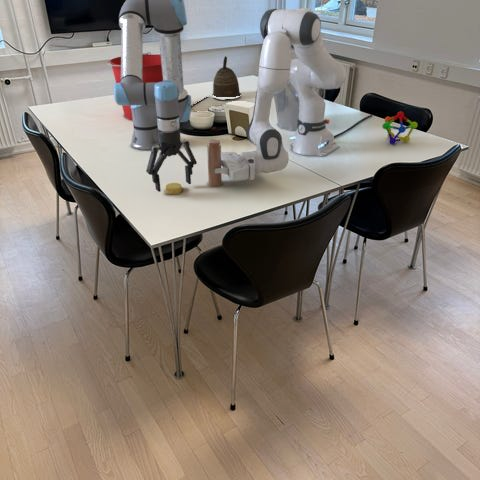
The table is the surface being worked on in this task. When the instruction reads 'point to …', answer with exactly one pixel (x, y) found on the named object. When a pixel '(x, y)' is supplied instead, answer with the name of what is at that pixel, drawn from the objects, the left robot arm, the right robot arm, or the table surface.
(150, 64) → the bucket
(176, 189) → the lid
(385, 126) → the educational toy
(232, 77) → the bell
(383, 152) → the table surface
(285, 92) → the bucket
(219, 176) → the jar
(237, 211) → the table surface
